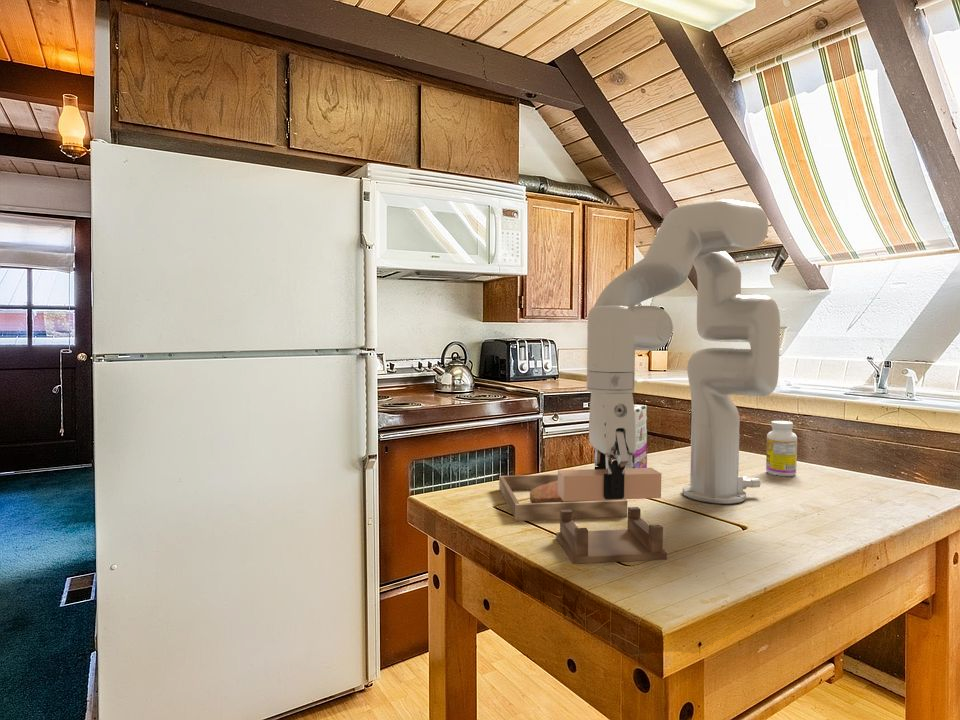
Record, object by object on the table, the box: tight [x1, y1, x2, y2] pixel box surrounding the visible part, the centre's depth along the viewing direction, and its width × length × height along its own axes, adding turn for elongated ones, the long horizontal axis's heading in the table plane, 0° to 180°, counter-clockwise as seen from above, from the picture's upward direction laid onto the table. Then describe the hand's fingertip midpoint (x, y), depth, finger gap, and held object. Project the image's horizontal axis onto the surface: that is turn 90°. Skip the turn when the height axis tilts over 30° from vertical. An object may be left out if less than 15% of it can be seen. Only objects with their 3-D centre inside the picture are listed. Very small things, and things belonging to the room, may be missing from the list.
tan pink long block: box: [557, 467, 662, 501], centre depth 95 cm, size 16×4×4 cm, turn 96°
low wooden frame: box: [498, 473, 628, 522], centre depth 122 cm, size 22×22×3 cm
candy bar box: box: [614, 404, 648, 468], centre depth 146 cm, size 11×5×16 cm, turn 148°
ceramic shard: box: [529, 480, 605, 503], centre depth 120 cm, size 15×6×15 cm
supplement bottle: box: [765, 420, 798, 477], centre depth 144 cm, size 7×7×13 cm
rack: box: [555, 506, 668, 565], centre depth 96 cm, size 15×11×5 cm
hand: (608, 493), depth 96 cm, fingers closed on tan pink long block, 4 cm apart
